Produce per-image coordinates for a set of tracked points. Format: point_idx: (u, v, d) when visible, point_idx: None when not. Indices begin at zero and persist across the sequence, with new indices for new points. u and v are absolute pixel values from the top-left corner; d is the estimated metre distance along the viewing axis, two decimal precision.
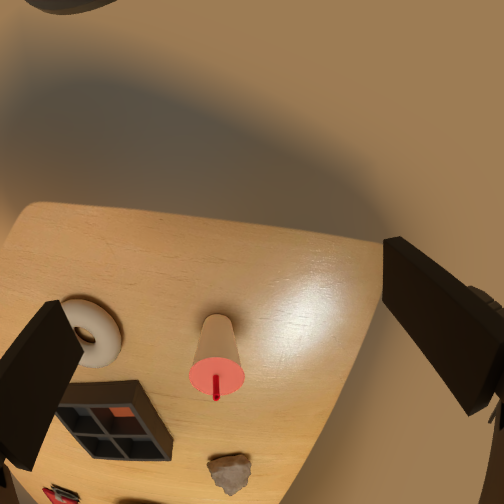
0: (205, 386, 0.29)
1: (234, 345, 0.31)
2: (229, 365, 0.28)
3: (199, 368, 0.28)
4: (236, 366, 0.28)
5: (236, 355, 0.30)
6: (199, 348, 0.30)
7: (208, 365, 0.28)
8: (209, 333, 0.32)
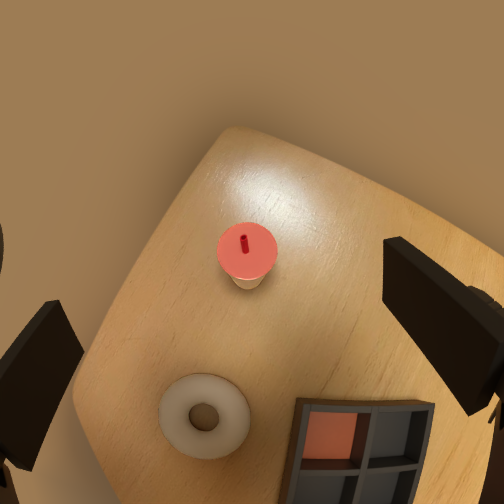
0: (256, 266, 0.28)
1: None
2: (234, 232, 0.29)
3: (227, 261, 0.28)
4: (238, 226, 0.29)
5: None
6: None
7: (226, 251, 0.28)
8: None
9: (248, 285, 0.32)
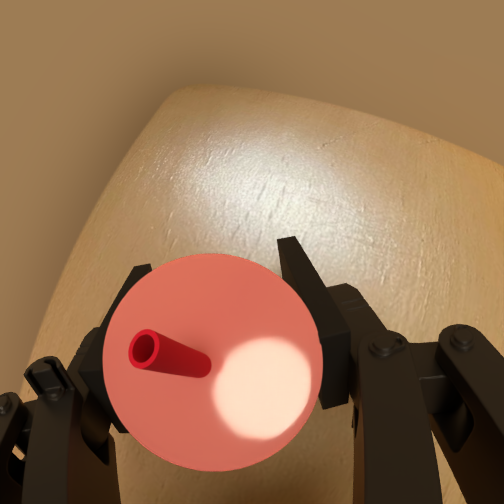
0: (248, 423, 0.06)
1: None
2: (153, 297, 0.07)
3: (141, 411, 0.06)
4: (164, 275, 0.08)
5: None
6: None
7: (133, 373, 0.07)
8: None
9: None
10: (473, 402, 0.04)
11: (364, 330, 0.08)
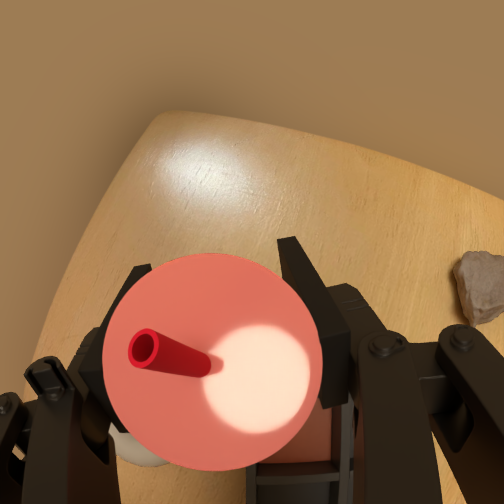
0: (248, 422, 0.06)
1: None
2: (152, 297, 0.08)
3: (141, 410, 0.06)
4: (164, 275, 0.08)
5: None
6: None
7: (133, 372, 0.07)
8: None
9: None
10: (473, 402, 0.04)
11: (364, 330, 0.08)
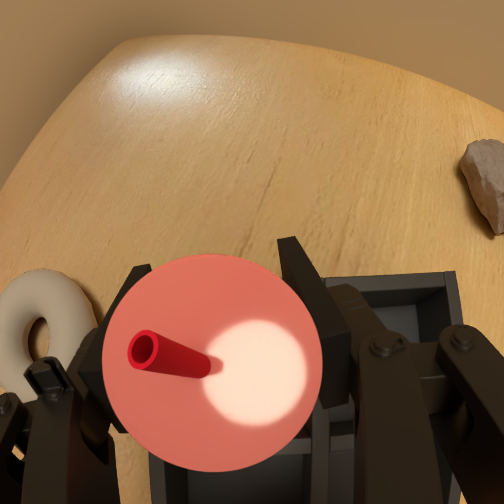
0: (247, 423, 0.06)
1: None
2: (152, 297, 0.07)
3: (141, 411, 0.06)
4: (163, 276, 0.08)
5: None
6: None
7: (133, 373, 0.07)
8: None
9: None
10: (473, 402, 0.04)
11: (364, 330, 0.08)
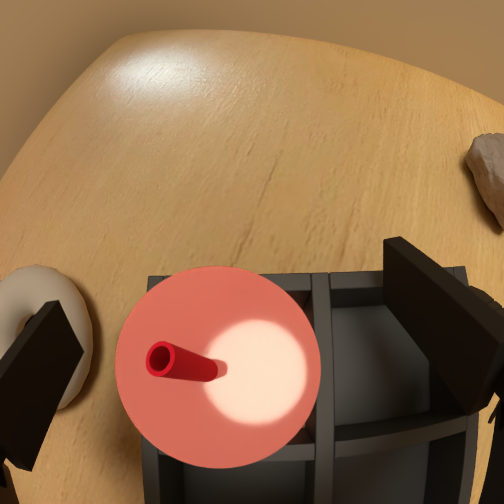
0: (251, 423, 0.07)
1: None
2: (163, 306, 0.08)
3: (151, 412, 0.07)
4: (173, 286, 0.08)
5: None
6: None
7: (144, 376, 0.07)
8: None
9: None
10: None
11: None
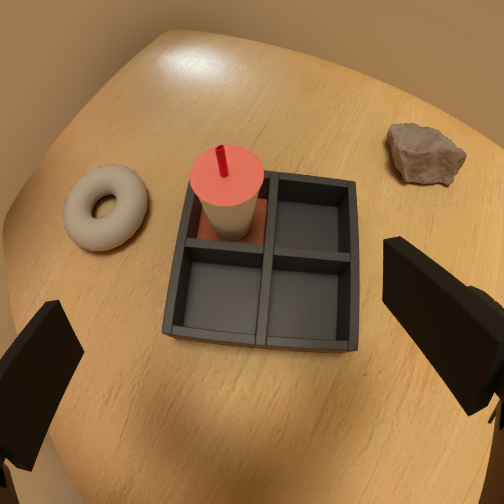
0: (237, 191, 0.22)
1: None
2: (211, 155, 0.23)
3: (202, 187, 0.22)
4: None
5: None
6: (202, 205, 0.24)
7: (201, 176, 0.22)
8: None
9: (231, 228, 0.26)
10: None
11: None
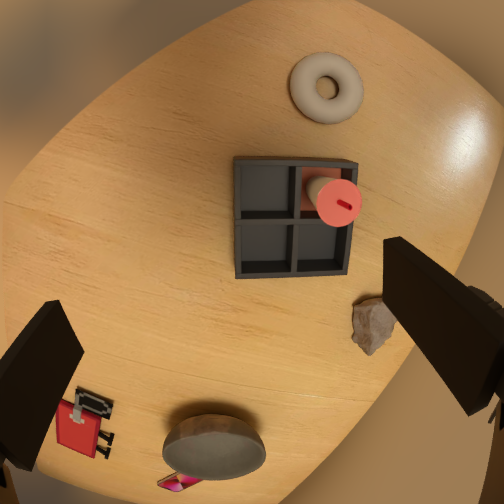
0: (327, 212, 0.34)
1: None
2: (353, 191, 0.33)
3: (329, 189, 0.33)
4: (358, 194, 0.33)
5: None
6: (322, 181, 0.35)
7: (338, 187, 0.33)
8: (326, 177, 0.37)
9: (310, 196, 0.38)
10: None
11: None
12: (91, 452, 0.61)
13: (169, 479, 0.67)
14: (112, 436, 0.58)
